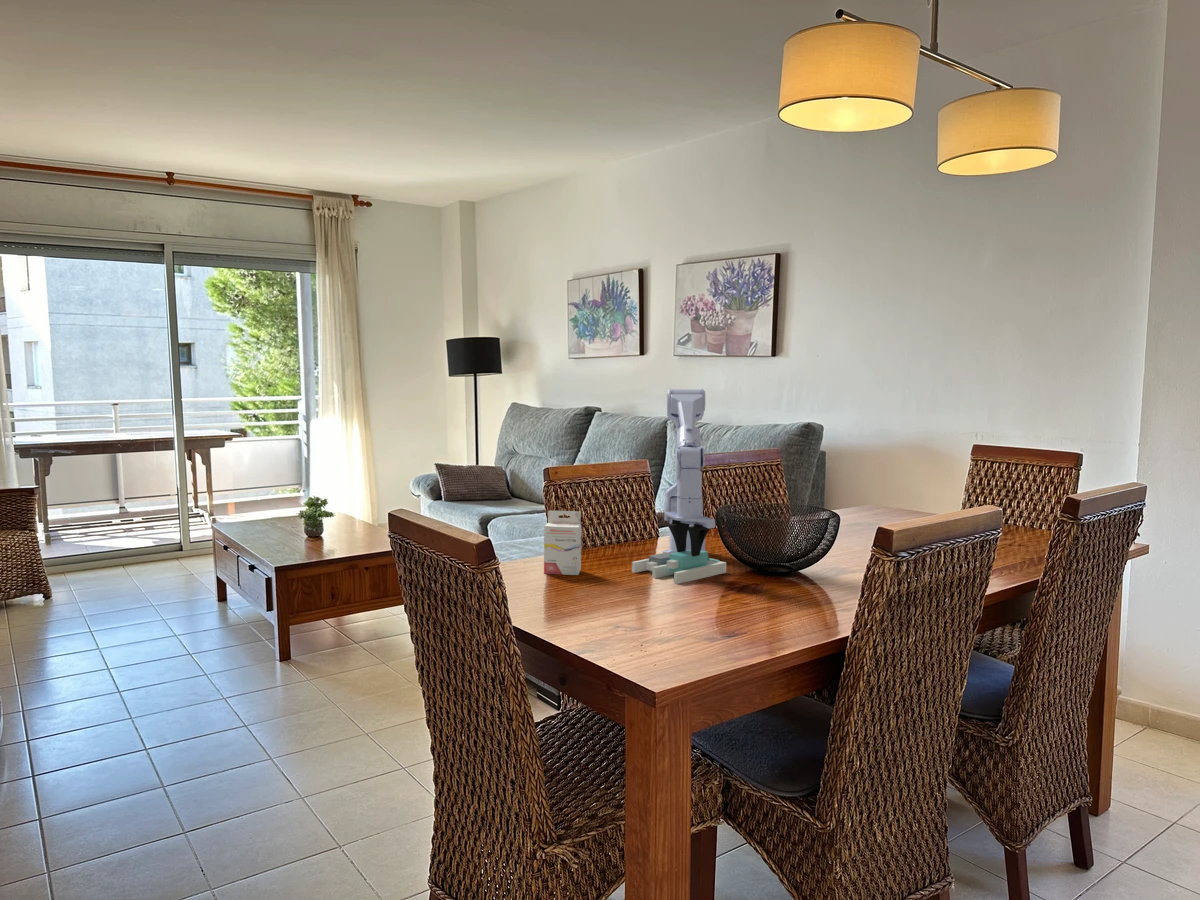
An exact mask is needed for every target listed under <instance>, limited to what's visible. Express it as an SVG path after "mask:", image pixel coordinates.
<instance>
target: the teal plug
mask: <svg viewBox="0 0 1200 900" xmlns="http://www.w3.org/2000/svg"><path fill="white" fill-rule="evenodd" d="M708 553H709V552H708V550H706V551H702V550H701V551H700V555H699V556H692V555H691V550H688V551H682V552H677V553H672V554H670V555H669V560H668V561H667V565H666V568H669V571H673V572H678V571H683V570H687V569H692V568H697V567H701V566H706V565H708V560H709V558H710V555H709V554H708Z"/></svg>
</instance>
